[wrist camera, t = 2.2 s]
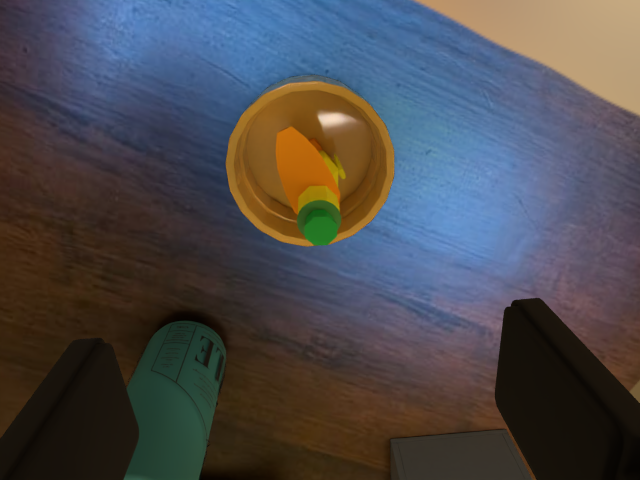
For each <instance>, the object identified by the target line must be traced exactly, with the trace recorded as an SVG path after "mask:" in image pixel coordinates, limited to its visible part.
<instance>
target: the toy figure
mask: <svg viewBox="0 0 640 480" xmlns="http://www.w3.org/2000/svg"><path fill="white" fill-rule="evenodd" d="M276 160H277V169H278V173H279V176H280V179H281V182H282V185H283V188H284V191H285V194H286V196H287V198H288V200H289V202H290V204H291V206H292V209H293V211H294V213H296V214H297V215H298V216H297V226H298V229H299V230H300V232H301V233H302V234H303V235H304V236H305V238H306V239H307V240H308V241H309V242H311V243H312V244H313V245H314V246H315V245H328V244H329V243H330V242H331V241H333V240H334V239H335V238H336V237H337V231H338V229H339V227H340V225H341V215H340V208H339V206H340V191H339V189H338V174H339V176H340V177H341V178H342V179H345V178H346V174H345V172H344V170H343V167H342V165H341V163H340V161H339V159H338V157H337V156H336V154H335V153H334V160H333V159H332V158H331V157H330V156H329V155H328V154H327V153H325V152H324V151H323V149H322V147H321V144H320V143H319V142H318V141H317V140H316V139H315V138H313V139H310V140H308V139H307V138H306V137H305V136H304V135H302V134H301V133H300V132H298V131H297V130H296V129H295V128H293V127H287V128H284V129H283V130H281V131H279V132H278V133H277V138H276Z"/></svg>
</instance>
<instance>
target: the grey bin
mask: <svg viewBox="0 0 640 480" xmlns="http://www.w3.org/2000/svg"><path fill="white" fill-rule="evenodd" d="M390 455H391V480H532V478H531V476H530V474H529V472H528V470H527V468H526V466H525V465H524V463H523V461H522V459H521V457H520V455H519V453H518V451H517V449H516V447H515V445H514V444H513V442H512V440H511V438H510V436H509V434H508V432H507V430H506V429H503V430H491V431H479V432H468V433H456V434H444V435H432V436H421V437H409V438H397V439H390Z"/></svg>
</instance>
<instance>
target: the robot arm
mask: <svg viewBox="0 0 640 480" xmlns="http://www.w3.org/2000/svg"><path fill="white" fill-rule="evenodd" d="M495 400H496V404H497V407H498V409H499V411H500V413H501V415H502V417H503V419H504V420H505V422H506V424H507V426H508V428H509V430H510V431H511V433H512V435H513V437H514V439H515V441H516V442H517V444H518V446H519V448H520V450H521V452H522V453H523V455H524V457H525V459H526V461H527V463H528V464H529V466H530V468H531V470H532V472H533V474H534V475H535V477H536V479H537V480H640V403H639V402H638V401H637V400H636V399H635V398H634V397H633V396H632V395H631V394H630V392H629V391H628V390H627V389H626V388H625V387H624V386H623V385H622V384H621V383H620V382H619V381H618V380H617V379H616V378H615V377H614V376H613V374H612V373H611V372H610V371H609V370H608V369H607V368H606V367H605V366H604V365H603V364H602V363H601V362H600V361H599V360H598V359H597V357H596V356H594V354H593V353H592V352H591V351H590V350H589V349H588V348H587V347H586V346H585V345H584V344H583V343H582V342H581V341H580V340H579V339H578V338H577V336H576V335H575V334H574V333H573V332H572V331H571V330H570V329H569V328H568V327H567V326H566V325H565V324H564V323H563V322H562V321H561V319H560V318H559V317H558V316H557V315H556V314H555V313H554V312H553V311H552V310H551V309H550V308H549V307H548V306H547V305H546V304H545V303H544V301H543V300H541V299H540V298H532V299H521V300H514V301H513V302H512V304H511V307H506V308H505V310H504V317H503V326H502V334H501V343H500V352H499V361H498V369H497V378H496V387H495ZM138 440H139V426H138V423H137V420H136V417H135V414H134V411H133V408H132V405H131V402H130V399H129V396H128V393H127V389H126V386H125V383H124V380H123V377H122V374H121V371H120V368H119V365H118V362H117V359H116V356H115V353H114V350H113V347H112V345H111V344H109V343H105V342H104V340H103V339H102V338H91V339H80V340H74V341H73V342H72V343H71V344H70V345H69V346H68V348H67V349H66V350H65V352H64V353H63V354H62V356H61V357H60V359H59V360H58V361H57V363H56V364H55V365H54V367H53V368H52V369H51V371H50V372H49V373H48V375H47V376H46V378H45V379H44V380H43V382H42V383H41V384H40V386H39V387H38V388H37V390H36V391H35V392H34V394H33V395H32V397H31V398H30V399H29V401H28V402H27V403H26V405H25V406H24V407H23V409H22V410H21V411H20V413H19V414H18V415H17V417H16V418H15V420H14V421H13V422H12V424H11V425H10V426H9V428H8V429H7V430H6V432H5V433H4V434H3V436H2V437H1V439H0V480H124V477H125V474H126V472H127V469H128V467H129V464H130V462H131V459H132V456H133V454H134V451H135V449H136V446H137V444H138Z"/></svg>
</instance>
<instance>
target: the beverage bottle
mask: <svg viewBox="0 0 640 480" xmlns="http://www.w3.org/2000/svg"><path fill="white" fill-rule="evenodd" d="M144 349H145V348H144ZM144 349H143V350H144ZM225 350H226V349H225V347H224V344H223V342H222V340H221V338H220V337H219V335H218V334H217V333H216V332H215V331H214V330H212V329H211V328H209V327H208V326H206V325H204V324H201V323H198V322H194V321H176V322H172V323H170V324H167V325H165V326H164V327H162V328H161V329H160V330H158V331H157V332H156V333H155V334H154V335H153V337H152V338H151V340H150V341H149V343H148V345H147V347H146V350H145V352H144V354H143V353H141V354H143V356H142V355H140V356H142V358H141V357H139V358H140V359H141V360H140V359H138V362H139V360H140V362H139V364H138V362H137V363H136V365H135V366H137V364H138V366H137V368H136V367H135V368H136V370H135V369H134V370H135V372H134V374H133V377H132V379H131V381H130V383H129V385H128V387H127V393H128V396H129V399H130V402H131V405H132V408H133V411H134V414H135V417H136V420H137V423H138V426H139V440H138V444H137V446H136V449H135V451H134V454H133V456H132V459H131V462H130V464H129V467H128V469H127V472H126V474H125V477H124V480H199V479H200V477H199V475H200V474H201V473H202V470H201V468H202V469H203V467H202V465H203V464H204V463H203V460H204V459H205V458H204V456H206V455H207V451H206V448H207V447H208V446H209V445H210V444H209V445H208V446H207V442H209V441H208V438H209V433H210V429H211V424H212V420H213V418H214V417H213V415H214V411H215V406H216V407H217V405H218V404H217V398H218V395H219V392H220V394H221V391H220V389H222V385H223V379H222V378H224V376H225V375H224V373H223V371H224V372H225V371H226V370H225V367H226V364H227V363H225V361H226V351H225ZM227 360H228V359H227ZM222 375H223V377H222ZM221 380H222V381H221ZM127 382H129V381H127ZM221 382H222V383H221ZM220 384H221V386H220ZM126 386H127V385H126ZM216 404H217V405H216ZM209 443H210V442H209ZM205 451H206V452H205ZM205 453H206V455H205ZM204 462H205V460H204ZM202 475H203V474H202ZM200 476H201V475H200Z"/></svg>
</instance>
